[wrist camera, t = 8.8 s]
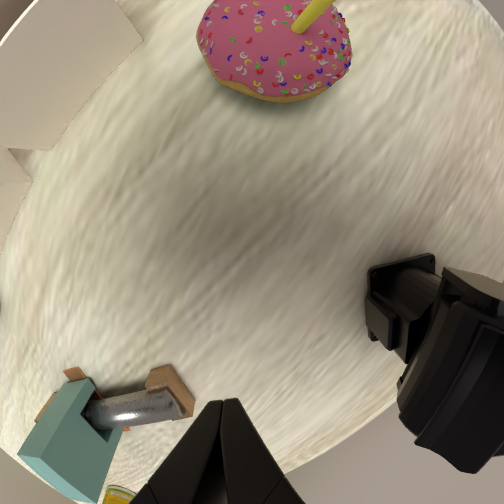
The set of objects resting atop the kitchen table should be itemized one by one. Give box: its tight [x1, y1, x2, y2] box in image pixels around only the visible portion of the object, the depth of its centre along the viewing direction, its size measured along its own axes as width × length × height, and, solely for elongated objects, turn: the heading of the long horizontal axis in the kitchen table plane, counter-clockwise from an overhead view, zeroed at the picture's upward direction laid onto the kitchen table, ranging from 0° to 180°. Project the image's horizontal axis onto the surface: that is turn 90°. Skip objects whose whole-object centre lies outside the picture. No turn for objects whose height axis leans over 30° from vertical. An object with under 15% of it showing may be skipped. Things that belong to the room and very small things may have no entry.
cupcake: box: [196, 0, 353, 103], centre depth 11 cm, size 9×8×12 cm
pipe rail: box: [34, 364, 195, 431], centre depth 20 cm, size 16×9×5 cm, turn 112°
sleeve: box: [17, 378, 124, 504], centre depth 17 cm, size 4×6×11 cm, turn 22°
